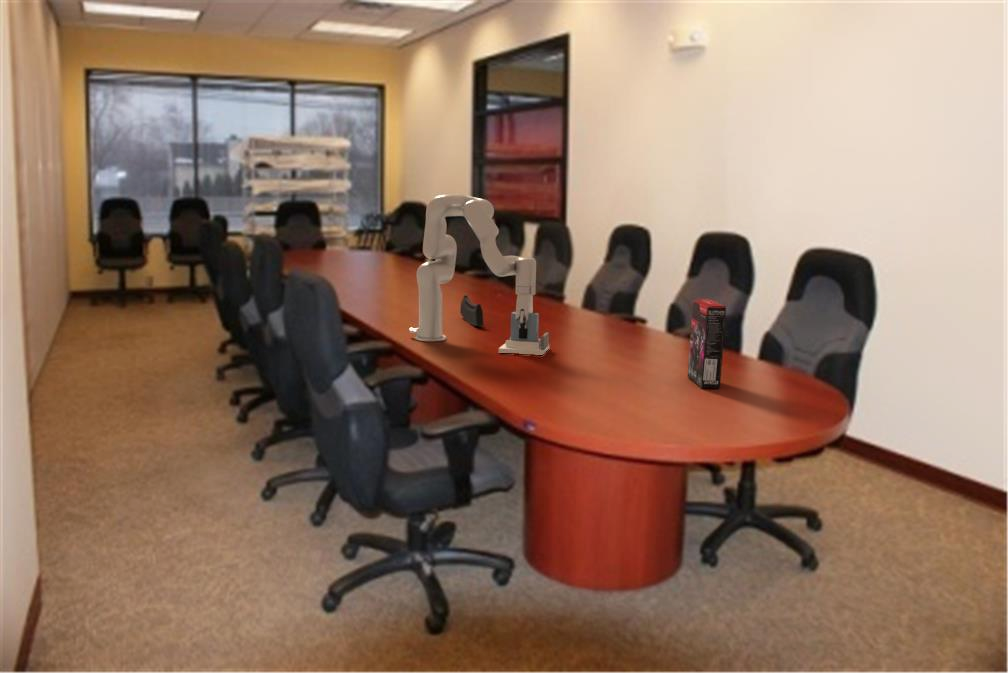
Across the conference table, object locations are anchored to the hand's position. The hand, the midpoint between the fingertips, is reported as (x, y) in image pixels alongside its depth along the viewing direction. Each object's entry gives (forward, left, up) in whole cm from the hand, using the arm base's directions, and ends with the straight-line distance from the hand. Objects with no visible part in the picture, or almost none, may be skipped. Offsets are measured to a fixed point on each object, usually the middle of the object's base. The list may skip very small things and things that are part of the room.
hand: (524, 336), depth 342 cm
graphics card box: (+68, -34, -6) cm, 76 cm away
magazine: (-37, +57, -6) cm, 68 cm away
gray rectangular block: (0, 0, -3) cm, 3 cm away
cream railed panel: (0, 0, -6) cm, 6 cm away
